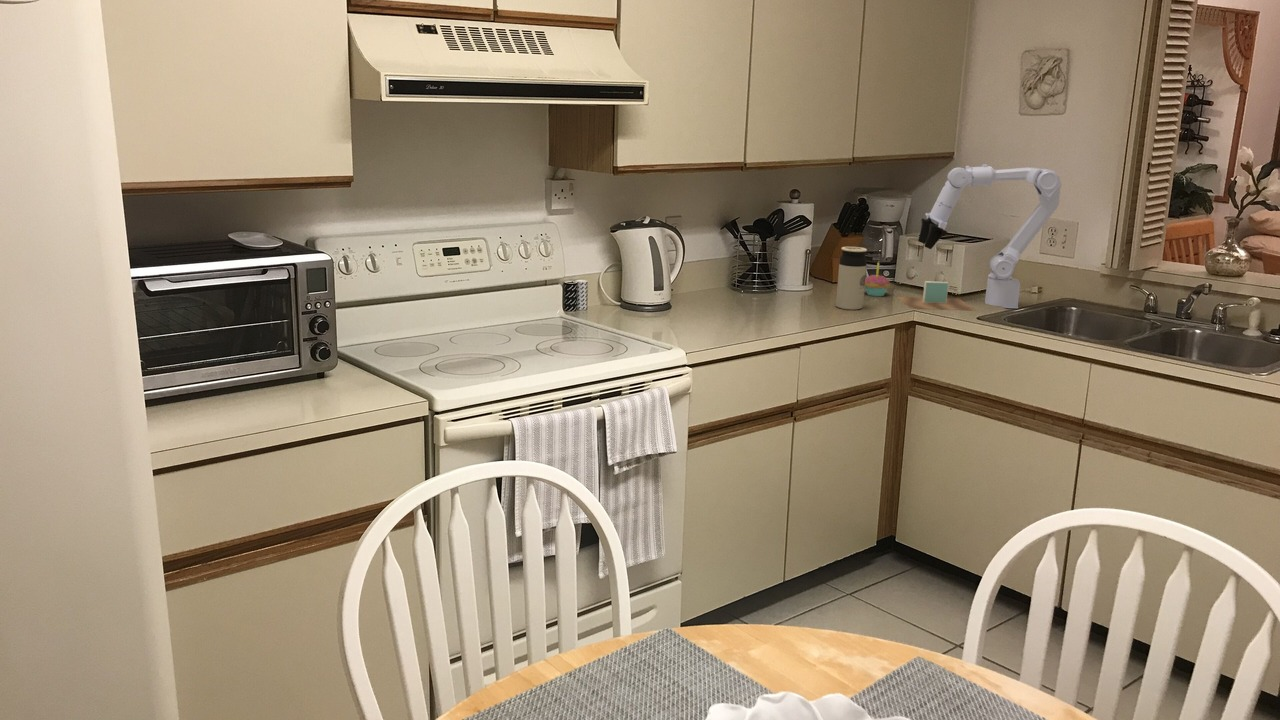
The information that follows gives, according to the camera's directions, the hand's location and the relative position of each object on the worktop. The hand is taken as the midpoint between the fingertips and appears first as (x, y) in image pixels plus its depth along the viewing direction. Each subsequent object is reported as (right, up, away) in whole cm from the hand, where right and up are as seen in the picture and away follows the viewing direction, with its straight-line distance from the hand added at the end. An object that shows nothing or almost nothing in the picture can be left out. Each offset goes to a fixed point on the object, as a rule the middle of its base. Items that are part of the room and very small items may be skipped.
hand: (924, 245), depth 316 cm
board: (+3, -19, -3) cm, 20 cm away
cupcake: (-14, -16, +9) cm, 22 cm away
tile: (+3, -18, -2) cm, 18 cm away
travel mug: (-25, -20, -9) cm, 34 cm away
